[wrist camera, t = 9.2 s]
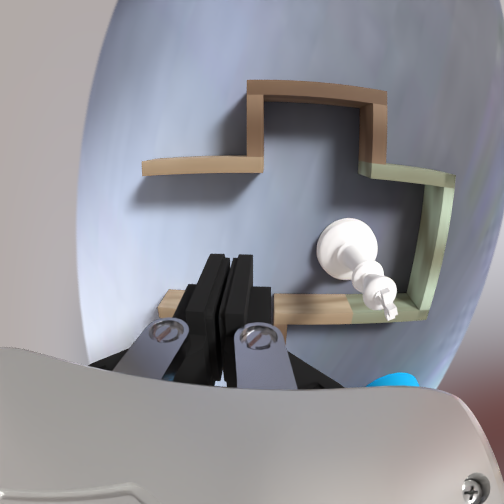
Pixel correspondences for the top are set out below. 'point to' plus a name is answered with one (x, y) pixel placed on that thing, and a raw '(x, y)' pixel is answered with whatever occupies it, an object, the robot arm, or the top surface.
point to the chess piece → (357, 263)
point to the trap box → (370, 165)
